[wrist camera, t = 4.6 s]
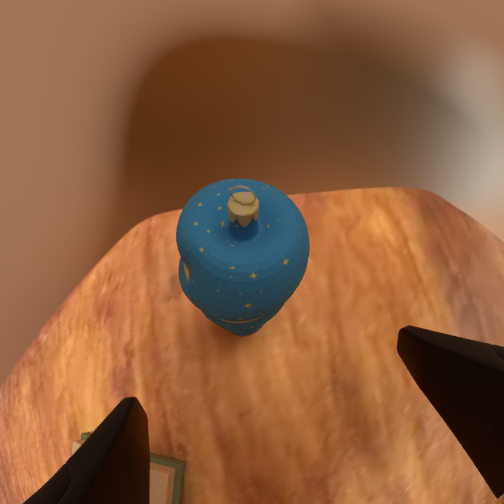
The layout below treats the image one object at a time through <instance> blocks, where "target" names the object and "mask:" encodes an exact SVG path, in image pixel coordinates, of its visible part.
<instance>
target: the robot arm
mask: <svg viewBox="0 0 504 504" xmlns="http://www.w3.org/2000/svg"><path fill="white" fill-rule="evenodd" d="M397 352H398V354H399V356H400V357H401V359H402V361H403V362H404V364H405V366H406V367H407V369H408V371H409V372H410V374H411V376H412V377H413V379H414V380H415V382H416V384H417V385H418V386H419V388H420V389H421V390H422V392H423V393H424V394H425V396H426V397H427V398H428V400H429V401H430V402H431V404H432V405H433V406H434V408H435V409H436V410H437V412H438V413H439V415H440V416H441V417H442V419H443V420H444V421H445V423H446V424H447V426H448V427H449V428H450V430H451V431H452V433H453V434H454V435H455V437H456V438H457V440H458V441H459V442H460V444H461V445H462V447H463V448H464V450H465V451H466V453H467V454H468V455H469V457H470V458H471V460H472V461H473V463H474V465H475V466H476V468H477V469H478V471H479V472H480V474H481V475H482V477H483V478H484V480H485V481H486V483H487V484H488V486H489V487H490V489H491V491H492V492H493V494H494V495H495V497H496V498H497V499H498V498H499V497H500V496H501V495H503V494H504V347H502V346H497V345H491V344H488V343H483V342H479V341H474V340H470V339H465V338H461V337H457V336H452V335H448V334H444V333H439V332H435V331H431V330H427V329H423V328H419V327H415V326H410V325H409V326H406V327H404V328H401V329H400V330H399V333H398V342H397ZM23 504H150V448H149V434H148V419H147V415H146V413H145V411H144V409H143V407H142V406H141V404H140V402H139V400H138V399H137V398H136V397H126V398H124V399H122V401H121V402H120V403H119V404H118V405H117V406H116V407H115V408H114V409H113V411H112V412H111V413H110V414H109V415H108V416H107V417H106V418H105V419H104V421H103V422H102V423H101V424H100V425H99V426H98V427H97V428H96V429H95V431H94V432H93V433H92V434H91V435H90V436H89V437H88V438H87V439H86V441H85V442H84V443H83V444H82V445H81V446H80V447H79V448H78V449H77V450H76V452H75V453H74V454H73V455H72V456H71V457H70V458H69V459H68V460H67V462H66V464H64V465H63V466H62V467H61V468H60V469H59V470H58V471H57V472H56V473H55V474H54V476H53V477H52V478H51V479H50V480H49V481H48V482H46V483H45V484H44V485H43V486H42V487H41V488H40V489H39V490H38V491H37V492H35V493H34V494H33V495H32V496H31V497H30V498H28V499H27V500H26V501H25V502H24V503H23Z"/></svg>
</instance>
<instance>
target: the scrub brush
mask: <svg viewBox="0 0 504 504" xmlns="http://www.w3.org/2000/svg"><path fill="white" fill-rule="evenodd" d="M91 434H92V433H90V432H87V433H82V434H81V440H76V441H73V445H72V455H73V454H74V453H75V452H76V450H77V449H78V448H79V447H80V446H81V445H82V444H83V443H84V442H85V441H86V439H87V438H88V437H89V436H90V435H91ZM184 471H185V461H181V460H177V459H172V458H168V457H164V456H160V455H156V454H152V453H150V504H181V501H182V490H183V480H184Z"/></svg>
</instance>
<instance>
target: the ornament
mask: <svg viewBox="0 0 504 504" xmlns="http://www.w3.org/2000/svg"><path fill="white" fill-rule="evenodd" d="M176 241H177V246H178V250H179V253H180V255H181V258H180V262H179V280H180V284H181V288H182V290H183V292H184V293H185V295H186V296H187V297H188V299H189V300H190V301H191V302H192V303H193V304H194V305H195V306H196V307H198V308H199V309H200V310H201V311H202V312H203V313H204V314H205V316H206V317H207V318H208V319H210V320H211V321H212V322H213V323H215V324H217V325H219V326H221V327H222V328H224V329H226V330H228V331H230V332H231V333H233V334H235V335H238V336H247V335H251V334H253V333H255V332H256V331H258V330H259V329H260V328H261V327H262V326H263V325H264V324H265V323H266V322H267V321H268V320H270V319H271V318H272V317H273V316H274V315H276V314H277V313H278V312H279V310H280V309H281V308H282V306H283V305H284V303H285V302H286V301H287V300H288V299H289V298H290V296H291V295H292V294H293V293H294V291H295V290H296V288H297V287H298V285H299V284H300V282H301V280H302V278H303V276H304V274H305V271H306V267H307V263H308V257H309V236H308V230H307V226H306V223H305V221H304V218H303V216H302V214H301V212H300V211H299V209H298V208H297V206H296V205H295V204H294V202H293V201H292V200H291V199H290V198H289V197H288V196H287V195H285V194H284V193H283V192H281V191H280V190H278V189H276V188H275V187H273V186H271V185H268V184H266V183H263V182H260V181H255V180H250V179H227V180H222V181H218V182H216V183H213V184H210V185H208V186H206V187H205V188H203V189H201V190H200V191H198V192H197V193H196V194H195V195H194V196H193V197H192V198H191V199H190V200H189V201H188V203H187V204H186V206H185V207H184V209H183V211H182V213H181V215H180V217H179V221H178V225H177V232H176Z"/></svg>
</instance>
